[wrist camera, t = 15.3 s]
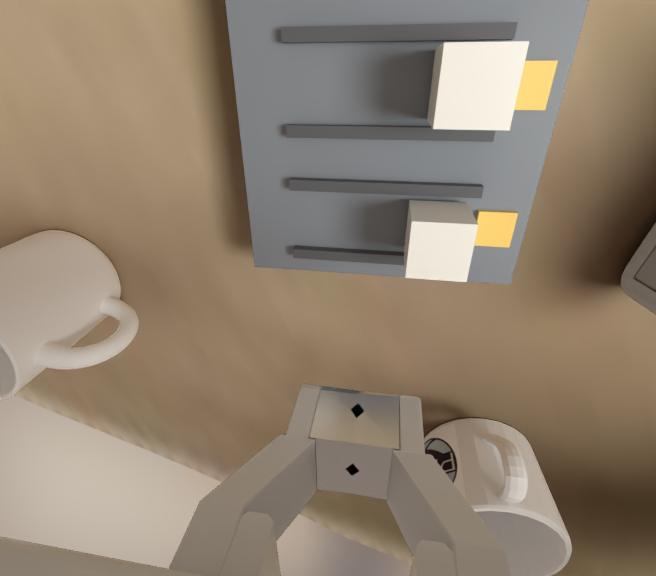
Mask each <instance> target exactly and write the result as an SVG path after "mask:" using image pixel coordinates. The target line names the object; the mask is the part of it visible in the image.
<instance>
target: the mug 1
mask: <svg viewBox="0 0 656 576" xmlns="http://www.w3.org/2000/svg"><path fill="white" fill-rule="evenodd" d="M120 295H121V285H120V280H119V277H118V274H117V272H116V270H115V268H114V266H113V264H112V263H111V262H110V260H109V259H108V258H107V256H106V255H105V254H104V253H103V252H102V251H101V250H100V249H99V248H98V247H96V246H95V245H94V244H92V243H91V242H89V241H88V240H86V239H84V238H82V237H81V236H78V235H76V234H73V233H70V232H67V231H61V230H47V231H43V232H39V233H36V234H33V235H30V236H28V237H26V238H23V239H21V240H19V241H16V242H14V243H12V244H10V245H7V246H5V247H3V248H0V401H1V400H4V399H7V398H9V397H11V396H13V395H14V394H15V393H17V392H18V391H19V390H20V389H21V388H23V387H24V386H25V385H26V384H27V383H29V382H30V381H31V380H32V379H33V378H34V377H36V376H37V375H38V374H39V373H41V372H42V371H43V370H44V369H45V368H46V367H47V368H52V369H79V368H85V367H89V366H93V365H96V364H99V363H101V362H104V361H106V360H108V359H110V358H112V357H114V356H115V355H117V354H118V353H120V352H121V351H122V350H124V349H125V348H126V347H127V346H128V345H129V344H130V343H131V342H132V340H133V339H134V337H135V336H136V334H137V331H138V327H139V320H138V317H137V314H136V312H135V311H134V310H133V309H132V308H131V307H130V306H129V305H128V304H126V303H125V302H123V301H121V300H119V299H120ZM108 315H109V316H112V317H114V318H116V319H117V320H118V321H119V322H120V325H119V327H118V329H117V330H116V331H115V333H113V334H112V335H111V336H109V337H108V338H106V339H105V340H102V341H100V342H98V343H95V344H92V345H88V346H83V347H72V346H73V345H74V344H75V343H76V342H78V341H79V340H80V339H81V338H82V337H84V336H85V335H86V334H87V333H88V332H90V331H91V330H92V329H93V328H94V327H96V326H97V325H98V324H99V323H100V322H102V321H103V320H104V319H105V318H106V317H107V316H108Z"/></svg>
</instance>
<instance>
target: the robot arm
mask: <svg viewBox="0 0 656 576" xmlns="http://www.w3.org/2000/svg"><path fill="white" fill-rule="evenodd" d="M316 489H318V490H326V491H335V492H343V493H351V494H356V495H362V496H368V497H373V498H379V499H384V500H387V504H388V506H389V508H390V510H391V512H392V514H393V516H394V518H395V520H396V522H397V524H398V526H399V528H400V530H401V532H402V534H403V537H404V539H405V541H406V543H407V545H408V547H409V549H410V551H411V553H412V555H413V557H414V558H413V563H412V567H411V571H410V576H511V574H510V569H509V565H508V561H507V556H506V552H505V550H504V549H503V548H502V547H501V545H500V544H499V543H498V541H497V540H496V539H495V537H494V536H493V535H492V533H491V532H490V531H489V529H488V528H487V527H486V526H485V524H484V523H483V522H482V520H481V519H480V518H479V516H478V515H477V514H476V512H475V511H474V510H473V508H472V507H471V506H470V505H469V503H468V502H467V501H466V499H465V498H464V497H463V495H462V494H461V493H460V491H459V490H458V489H457V487H456V486H455V485H454V484H453V482H452V481H451V480H450V478H449V477H448V476H447V474H446V473H445V472H444V470H443V469H442V468H441V466H440V465H439V464H438V463H437V461H436V460H435V459H434V457H433V456H432V455H430V454H425V446H424V433H423V421H422V409H421V400H420V398H419V397H414V396H404V395H399V396H398V395H394V394H384V393H375V392H365V391H354V390H347V389H340V388H332V387H325V386H315V385H308V384H303V385H302V386H301V388H300V390H299V393H298V397H297V400H296V403H295V406H294V409H293V413H292V416H291V419H290V422H289V426H288V429H287V432H286V435H279V436H277V437H276V438H275V439H274V440H273V441H271V442H270V443H269V444H268V445H267V446H265V447H264V448H263V449H262V450H261V451H259V452H258V453H257V454H256V455H255V456H253V457H252V458H251V459H250V460H249V461H247V462H246V463H245V464H244V465H243V466H241V467H240V468H239V469H238V470H237V471H235V472H234V473H233V474H232V475H231V476H229V477H228V478H227V479H226V480H225V481H223V482H222V483H221V484H220V485H219V486H217V487H216V488H215V489H214V490H213V491H211V492H210V493H209V494H208V495H207V496H206V497H204V498H203V499H202V500H201V501H200V503H199V504H198V507H197V509H196V511H195V513H194V516H193V517H192V520H191V522H190V524H189V526H188V528H187V530H186V532H185V535H184V537H183V539H182V541H181V543H180V545H179V547H178V550H177V552H176V554H175V556H174V558H173V560H172V563H171V565H170V567H169V569H166V568H161V567H156V566H151V565H145V564H140V563H135V562H130V561H125V560H120V559H115V558H109V557H104V556H99V555H94V554H88V553H83V552H78V551H73V550H67V549H63V548H57V547H52V546H47V545H42V544H37V543H31V542H26V541H21V540H15V539H11V538H5V537H0V576H281V575H280V567H279V560H278V552H277V544H276V541H277V540H278V538H279V537H280V536H281V535H282V534H283V532H284V531H285V530H286V529H287V527H288V526H289V525H290V524H291V522H292V521H293V520H294V519H295V518H296V516H297V515H298V514H299V513H300V511H301V510H302V509H303V508H304V506H305V505H306V504H307V503H308V502H309V500H310V499H311V498H312V497H313V495H314V494H315V493H316Z"/></svg>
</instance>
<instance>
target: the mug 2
mask: <svg viewBox="0 0 656 576" xmlns="http://www.w3.org/2000/svg"><path fill="white" fill-rule="evenodd" d="M424 446H425V454H430V455H432V456H433V457H434V459H435V460H436V461H437V463H438V464H439V465H440V466H441V468H442V469H443V470H444V472H445V473H446V474H447V476H448V477H449V478H450V480H451V481H452V482H453V484H454V485H455V486H456V487H457V489H458V490H459V491H460V493H461V494H462V495H463V497H464V498H465V499H466V501H467V502H468V503H469V505H470V506H471V507H472V508H473V510H474V511H475V512H476V514H477V515H478V516H479V518H480V519H481V520H482V522H483V523H484V524H485V526H486V527H487V528H488V529H489V531H490V532H491V533H492V535H493V536H494V537H495V539H496V540H497V541H498V543H499V544H500V545H501V547H502V548H503V549H504V550H505V552H506V556H507V561H508V565H509V569H510V574H511V576H552V575H553V574H555V573H557V572H559V571H560V570H561V569H562V568H563V567H564V566H565V565H566V564H567V563H568V562H569V559H570V556H571V553H572V546H571V541H570V537H569V535H568V532H567V530H566V528H565V525H564V523H563V521H562V518H561V516H560V513H559V511H558V509H557V506H556V504H555V502H554V499H553V497H552V495H551V492H550V490H549V488H548V485H547V483H546V481H545V478H544V476H543V474H542V471H541V469H540V466H539V464H538V462H537V459H536V457H535V455H534V452H533V450H532V448H531V445H530V444H529V442H528V441H527V439H526V438H525V436H524V435H522V434H521V433H520V432H518V431H517V430H516V429H514V428H513V427H510V426H508V425H506V424H503V423H501V422H498V421H494V420H489V419H483V418H466V419H459V420H453V421H451V422H448V423H445V424H442V425H440V426H439V427H437V428H435V429H434V430H432V431H431V432H430V433H429V434H428V435H427V436H426V437H425V438H424Z"/></svg>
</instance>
